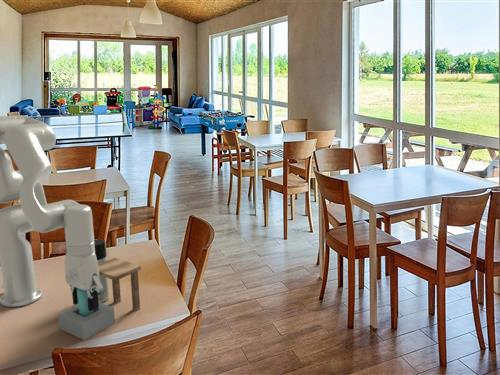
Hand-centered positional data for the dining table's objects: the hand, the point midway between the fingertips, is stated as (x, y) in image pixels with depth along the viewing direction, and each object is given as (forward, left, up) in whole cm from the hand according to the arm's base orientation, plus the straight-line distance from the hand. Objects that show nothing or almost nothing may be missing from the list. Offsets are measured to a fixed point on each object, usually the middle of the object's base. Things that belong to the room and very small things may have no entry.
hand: (85, 305), depth 132 cm
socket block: (0, 0, -7) cm, 7 cm away
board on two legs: (0, +12, -7) cm, 13 cm away
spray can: (-11, +13, -7) cm, 18 cm away
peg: (0, 0, -7) cm, 7 cm away
